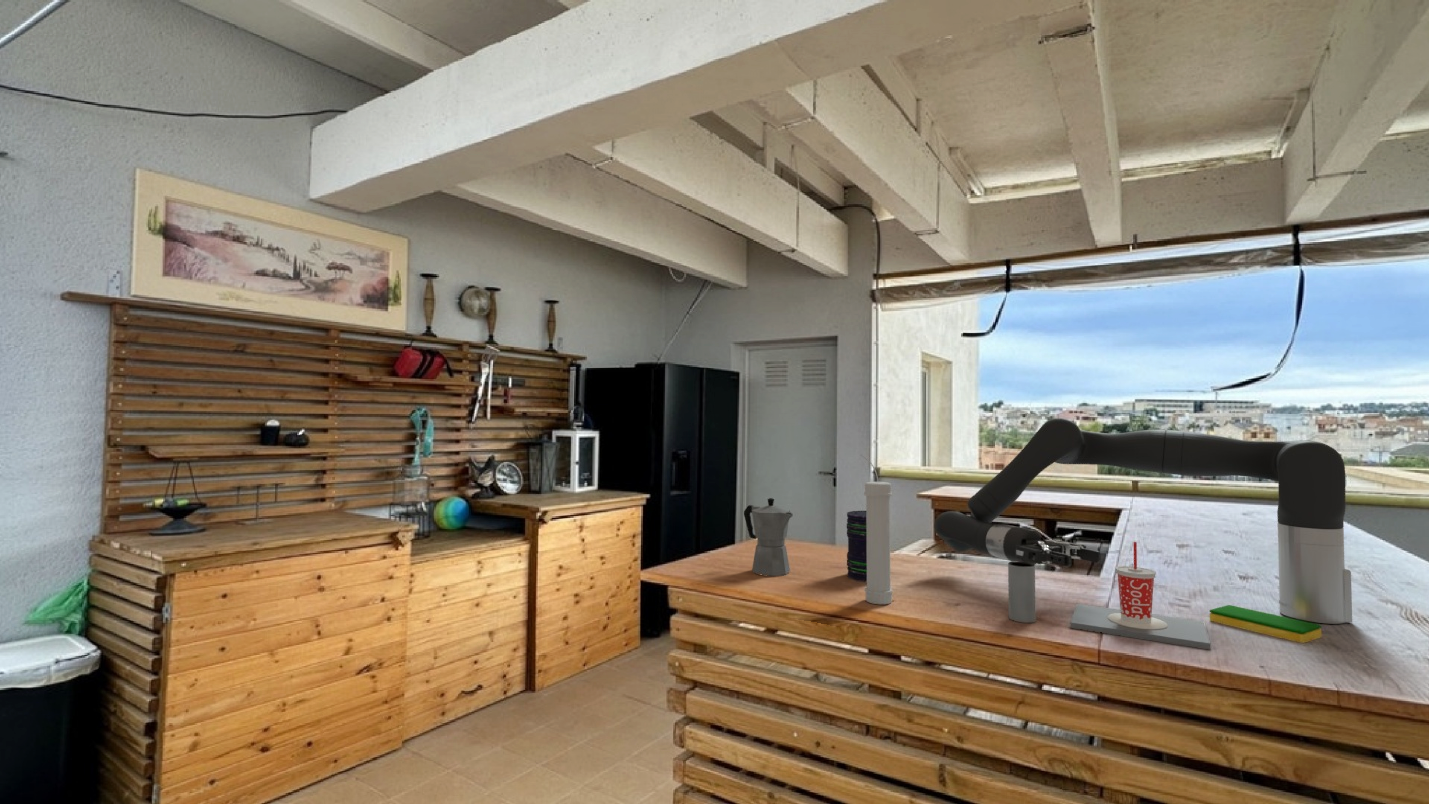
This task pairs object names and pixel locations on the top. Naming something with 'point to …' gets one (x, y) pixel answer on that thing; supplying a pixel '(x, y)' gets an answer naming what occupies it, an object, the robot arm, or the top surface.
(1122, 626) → the slate board
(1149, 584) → the beverage cup
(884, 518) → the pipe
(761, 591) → the top surface
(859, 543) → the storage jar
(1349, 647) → the top surface
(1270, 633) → the dish sponge
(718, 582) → the top surface
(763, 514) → the coffeepot
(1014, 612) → the gray cylinder
